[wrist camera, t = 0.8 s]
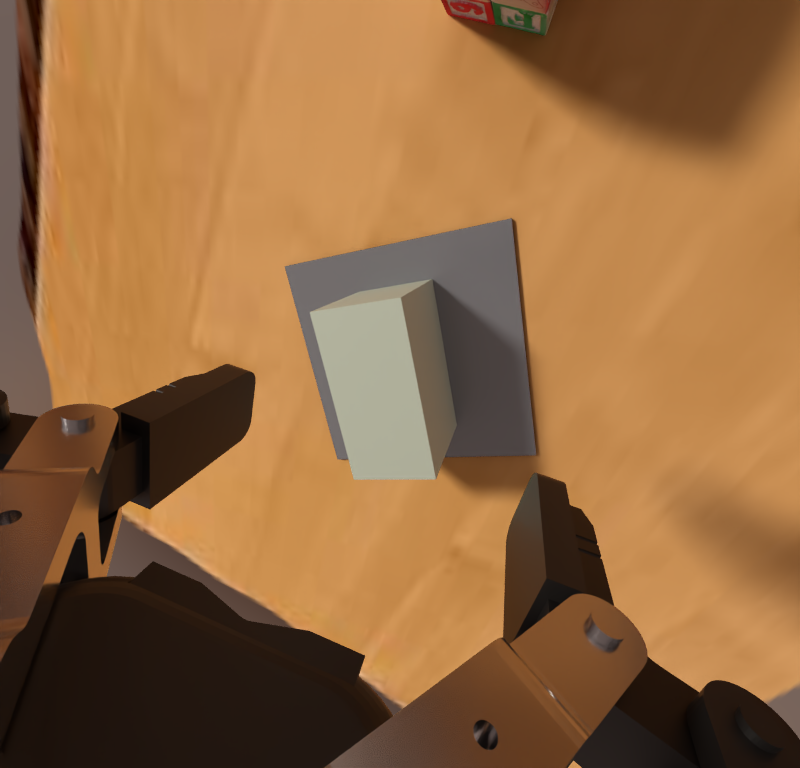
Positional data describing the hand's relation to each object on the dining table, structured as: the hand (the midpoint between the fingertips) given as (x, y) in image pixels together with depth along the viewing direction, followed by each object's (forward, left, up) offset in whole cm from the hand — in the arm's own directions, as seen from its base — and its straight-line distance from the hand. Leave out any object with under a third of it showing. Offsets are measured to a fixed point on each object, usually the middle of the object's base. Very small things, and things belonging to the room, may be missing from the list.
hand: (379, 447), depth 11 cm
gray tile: (+6, +4, -22) cm, 23 cm away
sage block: (+6, +4, -21) cm, 22 cm away
